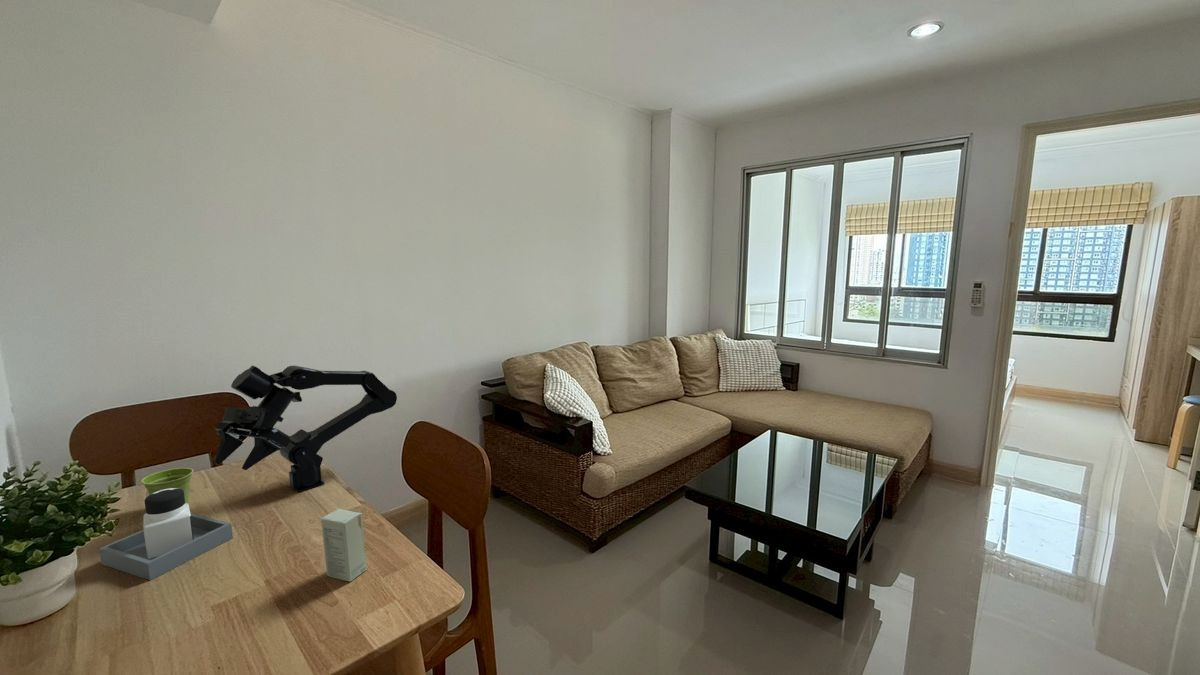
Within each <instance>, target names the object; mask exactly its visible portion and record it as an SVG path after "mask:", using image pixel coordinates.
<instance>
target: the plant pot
mask: <svg viewBox="0 0 1200 675" xmlns="http://www.w3.org/2000/svg"><path fill="white" fill-rule="evenodd" d="M193 473H194V469H193V468H191V467H176V468H175V467H174V468H168V469H165V470H160V471H156V472H154V473H152V474H149V475H147V476H145V477H143V478H142V479H141V482H140V483H141V484H142V485H144V487H145V489H146V490H147V492H148V496H149V495H151V494H153V493H155V492H157V491H160V490H164V489H169V488H179V489H182V490H183V491H184V497H185V504H186V503H188V504H189V500H190V499H189V498H190V487H191V485H190V484H191V479H192V474H193Z"/></svg>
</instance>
